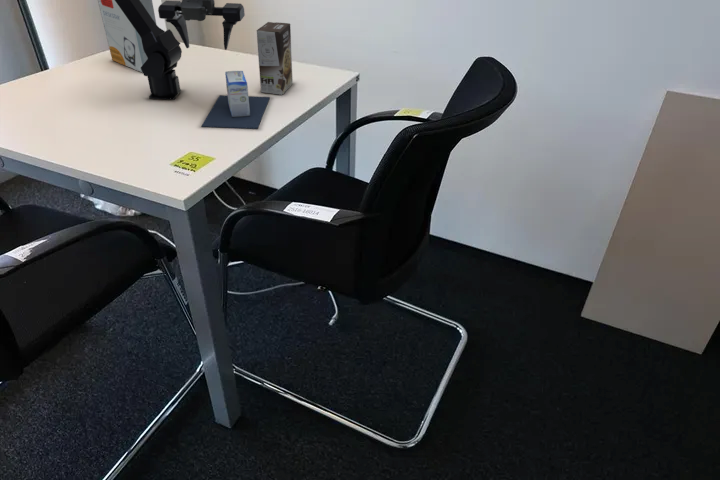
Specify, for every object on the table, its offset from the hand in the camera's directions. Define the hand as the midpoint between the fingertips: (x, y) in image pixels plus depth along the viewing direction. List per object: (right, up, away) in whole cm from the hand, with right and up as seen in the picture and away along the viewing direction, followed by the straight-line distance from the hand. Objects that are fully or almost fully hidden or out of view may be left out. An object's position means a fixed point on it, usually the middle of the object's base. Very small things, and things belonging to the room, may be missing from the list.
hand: (207, 48), depth 130 cm
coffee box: (+15, -5, +16) cm, 22 cm away
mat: (+7, -15, +2) cm, 17 cm away
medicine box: (+7, -15, +2) cm, 17 cm away
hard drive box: (-28, +5, +28) cm, 40 cm away
